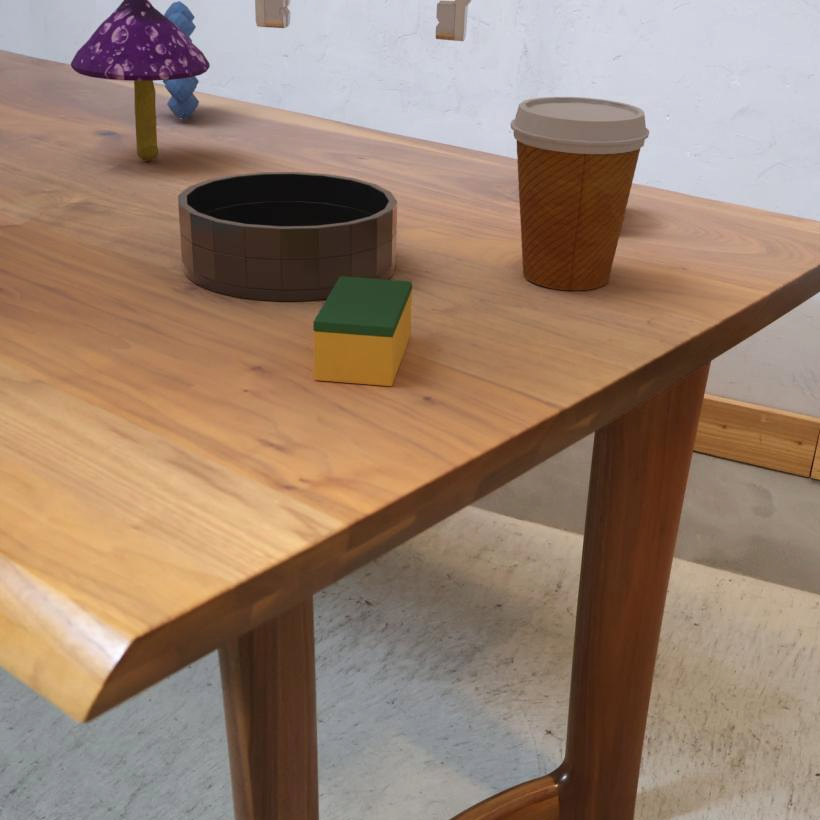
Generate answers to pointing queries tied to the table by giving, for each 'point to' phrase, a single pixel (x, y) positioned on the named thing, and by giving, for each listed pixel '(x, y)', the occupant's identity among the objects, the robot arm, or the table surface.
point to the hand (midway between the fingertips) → (361, 32)
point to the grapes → (183, 88)
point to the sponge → (362, 331)
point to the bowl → (285, 234)
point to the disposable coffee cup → (574, 186)
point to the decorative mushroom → (140, 60)
